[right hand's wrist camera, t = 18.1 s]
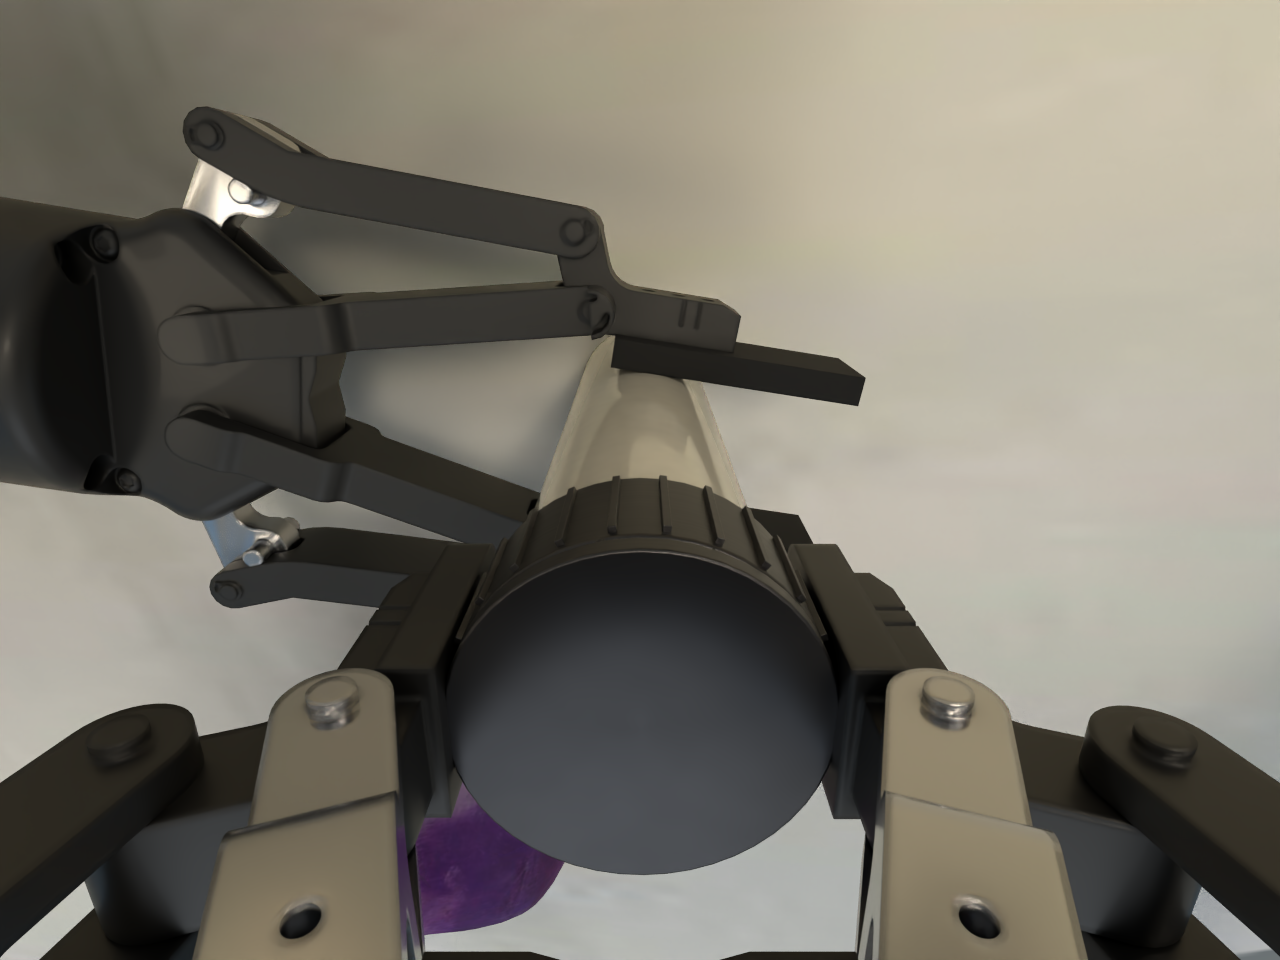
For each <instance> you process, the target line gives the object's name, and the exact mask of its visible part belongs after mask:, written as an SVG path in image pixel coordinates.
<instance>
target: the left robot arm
mask: <svg viewBox="0 0 1280 960" xmlns="http://www.w3.org/2000/svg"><path fill="white" fill-rule="evenodd" d="M183 134H184V138H185V142H186V144H187V146H188V147H189V149H190V150H191V152H192V153H193V154H194V155H196V156H197V157H198V158H199V159H198V162H197V165H196V168H195V171H194V175H193V178H192V181H191V184H190V187H189V190H188V193H187V196H186V199H185V202H184V205H183V208H182V209H181V208H169V209H164V210H160V211H158V212H155V213H153V214H151V215H149V216H147V217H144V218H140V219H134V218H128V217H122V216H115V215H109V214H103V213H97V212H91V211H84V210H78V209H72V208H66V207H60V206H53V205H47V204H41V203H35V202H29V201H23V200H16V199H10V198H4V197H0V482H3V483H11V484H18V485H25V486H32V487H39V488H46V489H53V490H60V491H67V492H75V493H82V494H95V495H130V496H141V497H145V498H148V499H151V500H153V501H156V502H158V503H160V504H162V505H164V506H165V507H167V508H169V509H170V510H172V511H173V512H175V513H177V514H178V515H180V516H183V517H185V518H188V519H192V520H197V521H202V522H203V524H204V526H205V528H206V530H207V532H208V535H209V537H210V539H211V541H212V543H213V545H214V547H215V549H216V552H217V554H218V556H219V558H220V560H221V562H222V564H223V567H224V568H223V569H222V570H221V571H220V572H218V573H217V574H216V575H215V576H214V577H213V578H212V580H211V582H210V591H211V594H212V596H213V597H214V599H215V600H216V601H217V602H219V603H220V604H221V605H223V606H226V607H229V608H242V607H247V606H252V605H257V604H262V603H267V602H273V601H278V600H283V599H288V598H301V599H310V600H318V601H327V602H335V603H344V604H352V605H360V606H369V607H377V608H379V606H380V604H381V603H382V601H383V600H384V598H385V597H386V595H387V594H388V592H389V591H390V589H391V588H392V587H394V586H395V585H396V584H398V583H399V582H401V581H402V580H404V579H405V578H407V577H408V576H410V575H411V574H413V573H414V572H431V570H432V569H433V567H434V565H435V564H436V562H437V560H438V558H439V557H440V555H441V553H442V552H443V550H444V548H445V547H446V545H447V544H449V543H459V542H451V541H443V540H434V539H426V538H418V537H410V536H402V535H394V534H386V533H378V532H369V531H361V530H353V529H345V528H333V527H316V528H307V529H300V525H299V523H298V521H297V520H296V519H294V518H291V517H286V518H281V517H268V516H264V515H262V514H260V513H259V512H257V511H256V510H255V509H254V508H253V507H252V506H251V504H250V503H251V502H253V501H255V500H257V499H259V498H261V497H262V496H264V495H266V494H268V493H270V492H272V491H274V490H276V489H278V488H279V489H282V490H285V491H288V492H291V493H294V494H297V495H300V496H303V497H306V498H308V499H311V500H315V501H319V502H334V501H344V502H348V503H351V504H353V505H356V506H359V507H362V508H365V509H368V510H371V511H374V512H377V513H379V514H382V515H385V516H388V517H391V518H394V519H397V520H400V521H403V522H405V523H408V524H411V525H414V526H417V527H420V528H423V529H426V530H429V531H431V532H434V533H437V534H440V535H443V536H446V537H449V538H452V539H455V540H457V541H460V542H463V543H492V544H494V546H495V549H496V551H497V548H498V546H499V544H500V541H501V540H502V539H503V537H505V538H506V539H509V538H510V537H511V536H512V535H513V534H514V532H515V531H516V530H517V529H518V528H519V527H520V526H521V525H522V524H523V523H524V522H525V521H526V520H527V517H528V515H529V512H530V511H531V510H532V509H534V508H535V506H536V503H537V501H538V498H539V495H540V493H538V492H535V491H533V490H530V489H527V488H524V487H522V486H519V485H516V484H513V483H510V482H508V481H505V480H502V479H499V478H497V477H494V476H491V475H488V474H485V473H483V472H480V471H477V470H474V469H472V468H469V467H466V466H463V465H461V464H458V463H455V462H452V461H449V460H447V459H444V458H441V457H438V456H436V455H433V454H430V453H427V452H424V451H422V450H419V449H416V448H413V447H411V446H408V445H405V444H402V443H399V442H397V441H394V440H391V439H388V438H386V437H384V436H382V435H381V433H380V432H379V430H378V429H376V428H375V427H373V426H371V425H368V424H365V423H363V422H360V421H357V420H354V419H352V418H349V417H346V416H345V406H344V402H343V398H342V394H341V390H340V386H339V379H340V375H341V372H342V369H343V366H344V362H345V359H346V352H349V351H356V350H370V349H386V348H401V347H417V346H432V345H448V344H464V343H479V342H495V341H510V340H526V339H542V338H557V337H573V336H589V335H591V337H592V340H594V339H597V338H601V337H602V336H604V335H605V334H607V335H613V336H615V341H614V348H613V355H612V362H611V368H616V369H623V370H629V371H636V372H642V373H649V374H655V375H661V376H668V377H674V378H681V379H687V380H694V381H700V382H706V383H713V384H719V385H726V386H732V387H738V388H745V389H751V390H758V391H764V392H771V393H777V394H783V395H790V396H796V397H803V398H809V399H816V400H822V401H828V402H835V403H841V404H848V405H854V406H858V405H859V401H860V397H861V393H862V390H863V386H864V382H865V379H866V378H865V377H864V376H862V375H861V374H859V373H858V372H857V371H855V370H854V369H852V368H851V367H850V366H848V365H847V364H846V363H844V362H843V361H841V360H840V359H839V358H833V357H827V356H821V355H815V354H808V353H802V352H796V351H789V350H783V349H777V348H771V347H764V346H758V345H752V344H745V343H739V342H736V338H737V333H738V328H739V323H740V318H741V316H740V315H739V314H738V313H737V312H736V311H735V310H734V309H732V308H731V307H729V306H728V305H726V304H724V303H723V302H721V301H720V300H718V299H712V298H706V297H700V296H694V295H688V294H681V293H675V292H669V291H663V290H657V289H651V288H645V287H638V286H633V285H630V284H627V283H625V282H624V281H622V280H621V279H620V278H619V277H618V276H617V275H616V274H615V272H614V270H613V269H612V266H611V263H610V259H609V254H608V249H607V244H606V239H605V234H604V225H603V222H602V220H601V218H600V216H599V215H598V214H597V213H596V212H595V211H594V210H592V209H589V208H587V207H583V206H578V205H572V204H567V203H562V202H557V201H551V200H546V199H541V198H535V197H530V196H525V195H520V194H514V193H509V192H504V191H499V190H493V189H488V188H483V187H478V186H472V185H467V184H462V183H457V182H451V181H446V180H441V179H436V178H430V177H425V176H420V175H415V174H409V173H404V172H399V171H393V170H388V169H383V168H378V167H372V166H367V165H362V164H357V163H351V162H346V161H341V160H336V159H330V158H328V157H326V156H325V155H323V154H321V153H319V152H318V151H316V150H314V149H313V148H311V147H309V146H307V145H306V144H304V143H302V142H301V141H299V140H297V139H295V138H294V137H292V136H290V135H289V134H287V133H285V132H283V131H282V130H280V129H278V128H277V127H275V126H273V125H271V124H270V123H267V122H265V121H262V120H259V119H255V118H251V117H247V116H243V115H239V114H235V113H231V112H228V111H223V110H219V109H215V108H211V107H197V108H195V109H193V110H192V111H190V112H189V113H188V115H187V116H186V118H185V120H184V124H183ZM295 206H299V207H303V208H307V209H312V210H317V211H323V212H328V213H334V214H339V215H344V216H350V217H355V218H360V219H366V220H371V221H377V222H382V223H387V224H393V225H398V226H404V227H409V228H414V229H420V230H425V231H431V232H436V233H441V234H447V235H452V236H457V237H463V238H468V239H474V240H479V241H484V242H490V243H495V244H501V245H506V246H511V247H517V248H522V249H528V250H533V251H538V252H544V253H549V254H554V255H557V257H558V261H559V266H560V270H561V274H562V279H563V281H549V282H534V283H519V284H503V285H488V286H473V287H458V288H443V289H428V290H412V291H397V292H382V293H376V292H361V293H346V294H331V295H316V294H315V293H314V292H313V291H312V290H311V289H309V288H308V287H307V286H306V285H305V284H304V283H303V282H301V281H300V280H299V279H298V278H297V277H296V276H295V275H294V274H292V273H291V272H290V271H289V270H288V269H287V268H286V267H285V266H283V265H282V264H281V263H280V262H279V261H278V260H277V259H276V258H274V257H273V256H272V255H271V254H270V253H269V252H268V251H266V250H265V249H264V248H263V247H262V246H261V245H260V244H259V243H257V242H256V241H255V240H254V239H253V238H252V237H251V236H250V235H248V234H247V233H246V232H245V231H244V230H243V229H242V228H240V226H241V224H242V222H243V221H244V220H245V219H246V218H247V217H249V216H253V217H256V218H280V217H284V216H286V215H288V214H289V213H290V212H292V210H293V208H294V207H295ZM750 509H751V511H752V514H753V517H754V519H756V520H757V521H758V522H759V523H760V524H761V525H762V526H763V527H764V528H765V529H766V530H767V531H768V532H769V534H770V535H771V536H772V537H774V536H775V535H778V536H779V538H780V539H781V541H782V543H783V545H784V548H785V550H786V552H787V553H788V549H789V546H790V545H791V544H813V542H812V540H811V538H810V537H809V535H808V533H807V531H806V529H805V527H804V525H803V523H802V521H801V519H800V518H799V516H798V515H794V514H787V513H780V512H774V511H767V510H760V509H753V508H750Z"/></svg>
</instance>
